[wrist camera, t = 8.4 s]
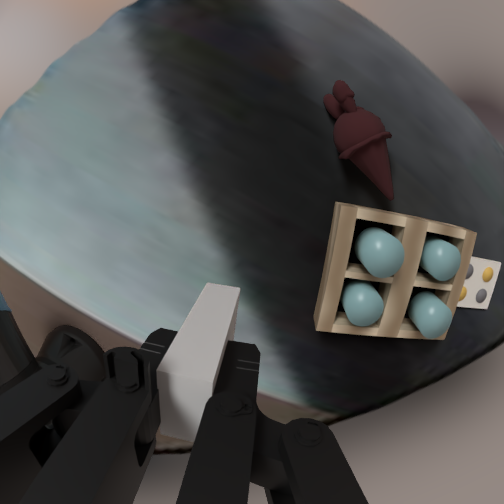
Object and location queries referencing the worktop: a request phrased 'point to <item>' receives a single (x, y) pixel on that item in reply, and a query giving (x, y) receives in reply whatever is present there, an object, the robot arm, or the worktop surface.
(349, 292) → the teal rounded lump
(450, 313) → the teal domed cylinder
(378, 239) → the teal blunt egg shape
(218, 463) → the robot arm
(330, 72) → the worktop surface
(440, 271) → the teal blunt tapered piece
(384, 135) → the icecream
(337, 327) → the wooden compartment tray
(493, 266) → the card
